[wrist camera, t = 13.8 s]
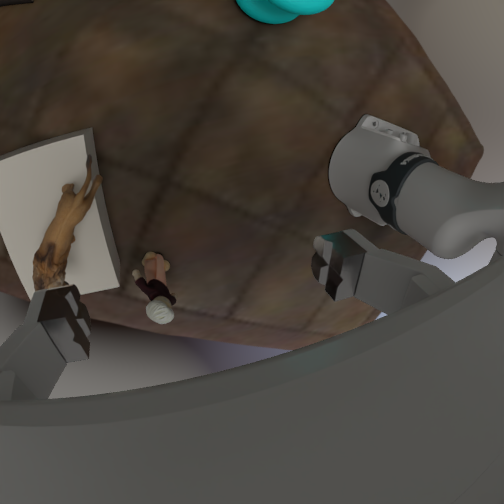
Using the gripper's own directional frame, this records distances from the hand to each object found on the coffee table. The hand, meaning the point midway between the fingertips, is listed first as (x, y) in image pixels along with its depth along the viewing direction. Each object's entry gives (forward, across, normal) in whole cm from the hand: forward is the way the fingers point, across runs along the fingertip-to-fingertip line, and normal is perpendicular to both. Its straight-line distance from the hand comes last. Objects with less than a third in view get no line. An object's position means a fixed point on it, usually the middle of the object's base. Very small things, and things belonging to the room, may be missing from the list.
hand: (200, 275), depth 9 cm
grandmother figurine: (+31, -3, -19) cm, 36 cm away
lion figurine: (+24, -12, -7) cm, 28 cm away
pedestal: (+30, -15, -8) cm, 35 cm away
